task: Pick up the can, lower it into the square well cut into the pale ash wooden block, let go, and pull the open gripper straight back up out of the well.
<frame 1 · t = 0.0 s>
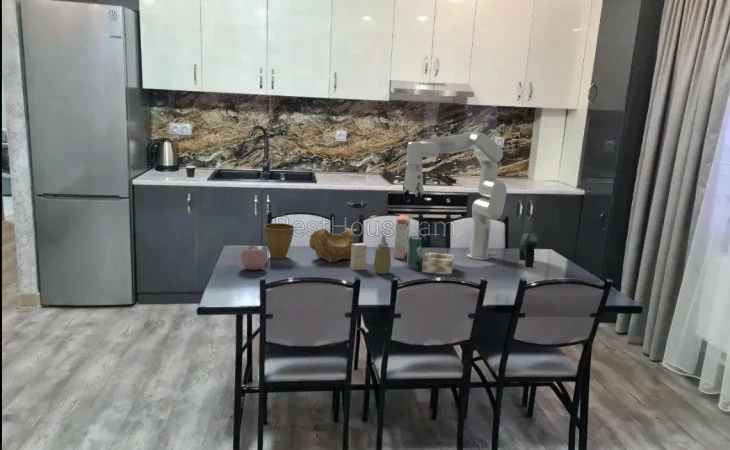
hand: (411, 202, 267), 31 cm above the table, tool pointing down, fingers open, 9 cm apart
well block: (437, 269, 266), on the table
skincare box: (357, 269, 262), on the table
rough brown rock: (333, 260, 275), on the table
plant pot: (278, 257, 275), on the table
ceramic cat: (524, 263, 287), on the table
cracker box: (401, 256, 289), on the table
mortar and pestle: (253, 269, 252), on the table
squeeze bottle: (381, 273, 257), on the table
can: (413, 267, 269), on the table
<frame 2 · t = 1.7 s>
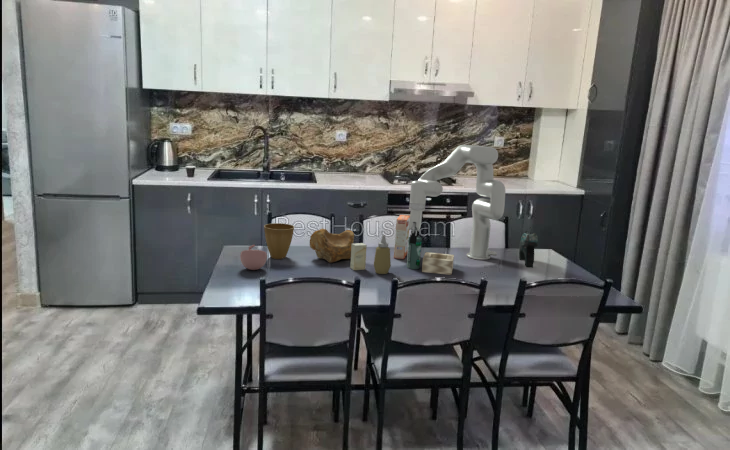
hand: (414, 241, 266), 13 cm above the table, tool pointing down, fingers open, 9 cm apart
nothing on the table moved.
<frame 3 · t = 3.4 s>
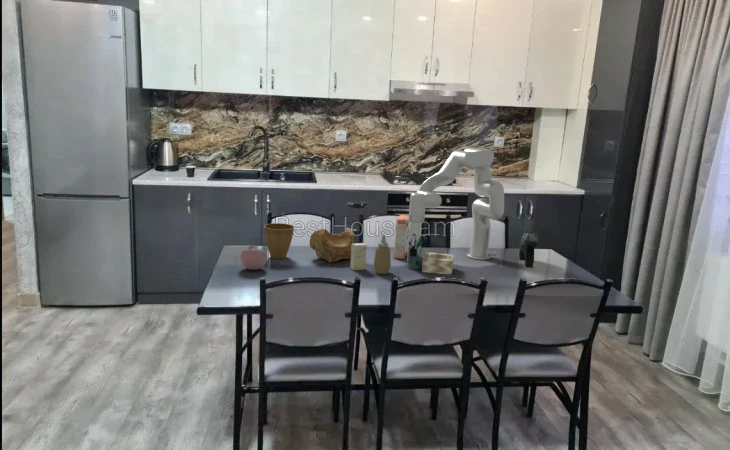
hand: (414, 254, 267), 7 cm above the table, tool pointing down, fingers closed on can, 6 cm apart
can: (413, 267, 269), on the table, touching gripper
everything else where it was.
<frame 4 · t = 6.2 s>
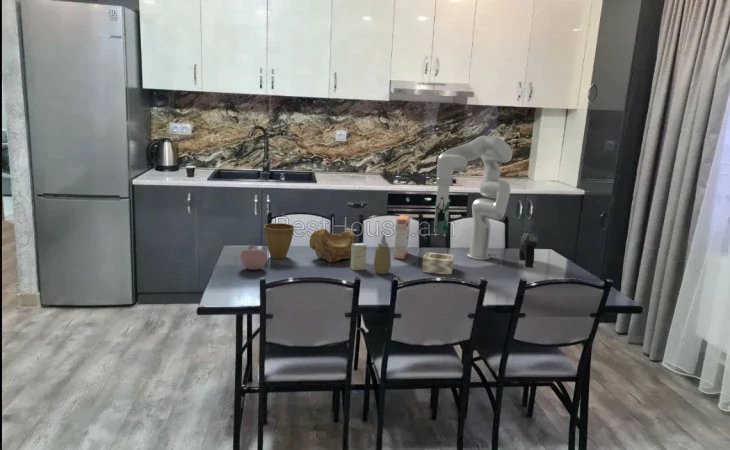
hand: (441, 219, 261), 25 cm above the table, tool pointing down, fingers closed on can, 6 cm apart
can: (440, 233, 262), point 18 cm above the table, touching gripper
everything else where it was.
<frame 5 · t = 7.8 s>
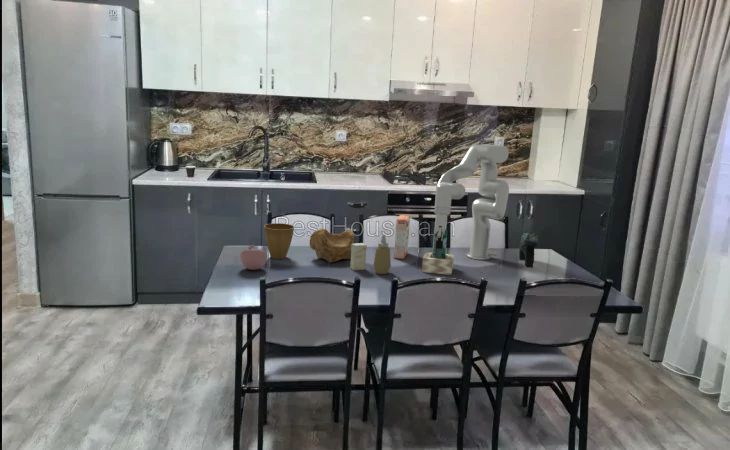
hand: (439, 246, 264), 12 cm above the table, tool pointing down, fingers closed on can, 6 cm apart
can: (438, 260, 265), point 5 cm above the table, touching gripper
everything else where it was.
when the fingers open (8 cm above the table, at t = 9.0 s): can stays where it is, resting on well block.
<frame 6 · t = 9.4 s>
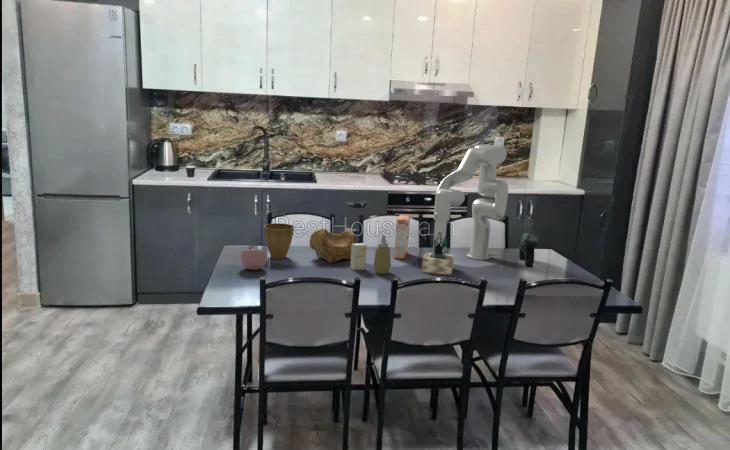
hand: (439, 251, 264), 9 cm above the table, tool pointing down, fingers open, 9 cm apart
can: (438, 268, 266), point 1 cm above the table, touching well block
everything else where it was.
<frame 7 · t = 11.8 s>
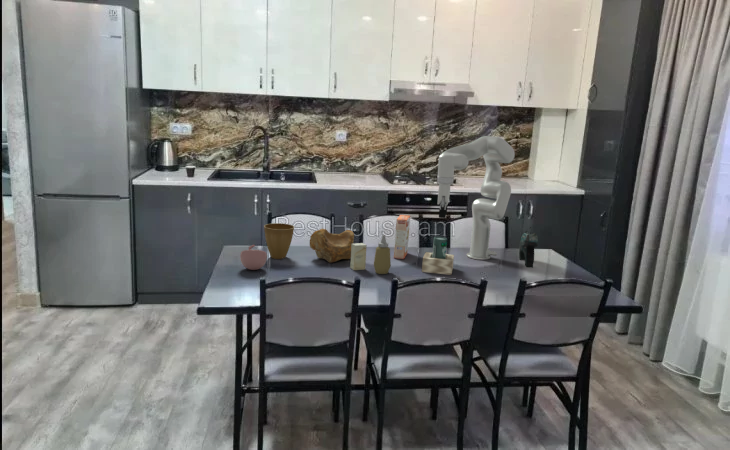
hand: (442, 215, 263), 26 cm above the table, tool pointing down, fingers open, 9 cm apart
nothing on the table moved.
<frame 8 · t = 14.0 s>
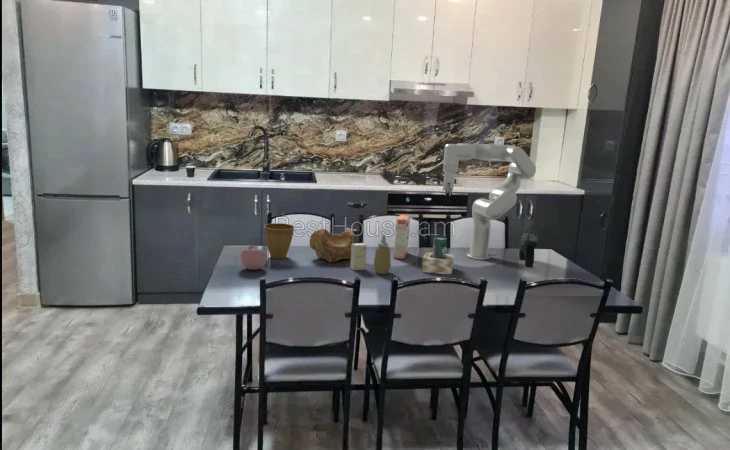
hand: (447, 202, 280), 30 cm above the table, tool pointing down, fingers open, 9 cm apart
nothing on the table moved.
at the end: can 0.3 cm off-centre on the well block, point 0.6 cm above the well block's base; can tilted 0°; the gripper is holding nothing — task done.
